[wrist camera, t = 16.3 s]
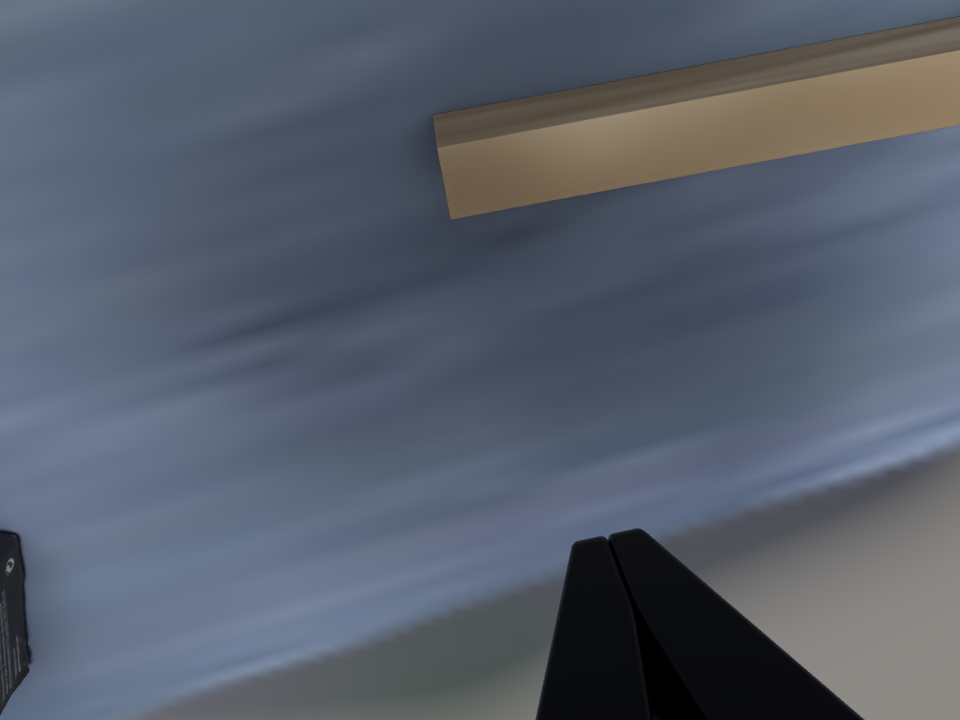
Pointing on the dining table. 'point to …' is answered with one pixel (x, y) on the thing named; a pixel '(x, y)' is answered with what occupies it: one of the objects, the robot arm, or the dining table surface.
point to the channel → (700, 118)
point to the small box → (11, 620)
